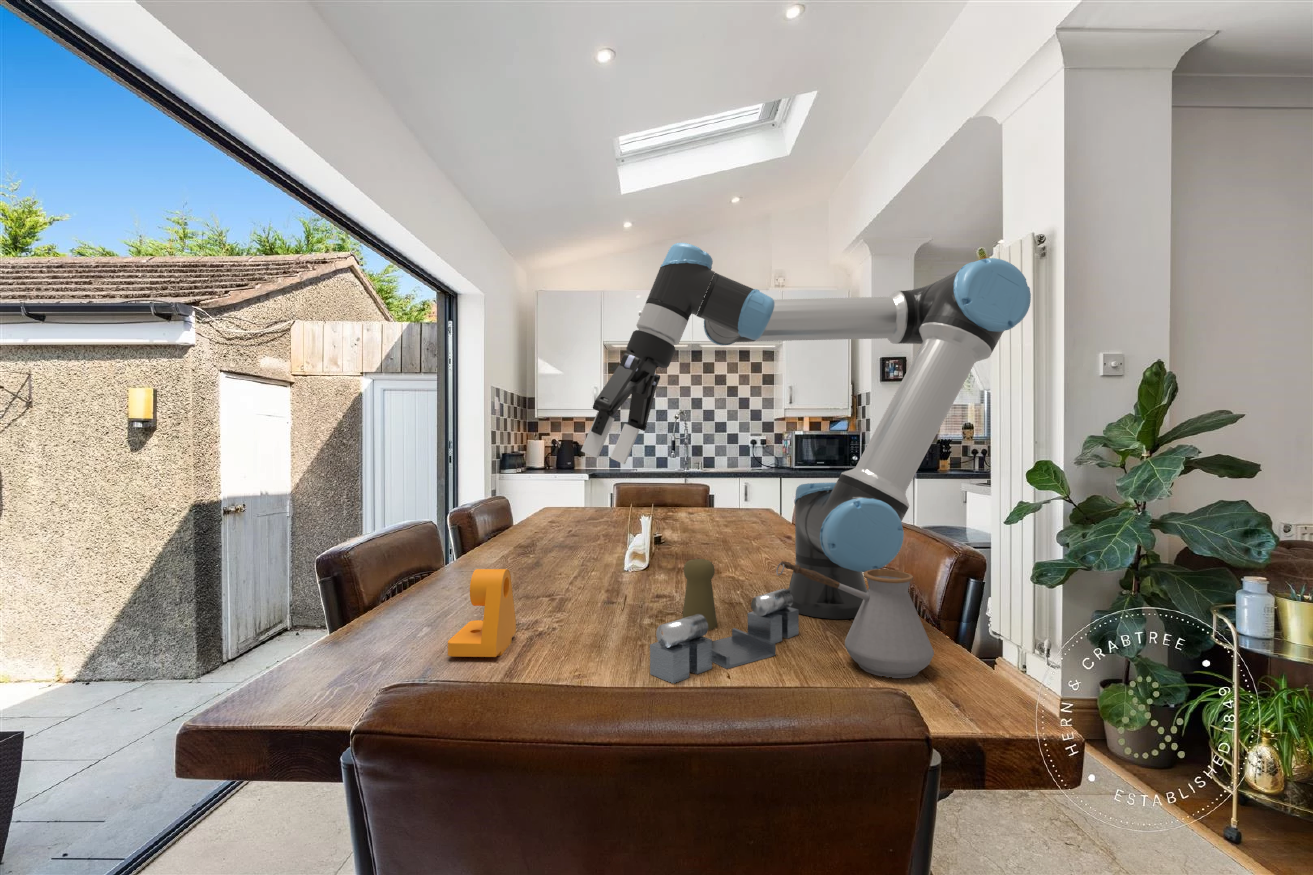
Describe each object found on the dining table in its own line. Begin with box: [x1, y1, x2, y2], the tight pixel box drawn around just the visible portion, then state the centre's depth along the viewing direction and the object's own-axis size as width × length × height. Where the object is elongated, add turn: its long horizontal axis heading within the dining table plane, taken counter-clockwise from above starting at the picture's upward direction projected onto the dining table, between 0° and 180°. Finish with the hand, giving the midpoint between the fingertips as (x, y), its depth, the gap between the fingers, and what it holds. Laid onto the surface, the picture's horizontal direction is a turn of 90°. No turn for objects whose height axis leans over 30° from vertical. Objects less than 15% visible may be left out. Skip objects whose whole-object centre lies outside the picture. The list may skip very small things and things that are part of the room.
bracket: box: [447, 568, 517, 658], centre depth 92 cm, size 11×7×12 cm, turn 178°
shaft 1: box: [649, 614, 713, 684], centre depth 82 cm, size 8×4×7 cm, turn 133°
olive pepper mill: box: [681, 558, 718, 631], centre depth 103 cm, size 6×6×11 cm
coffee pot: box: [775, 560, 935, 679], centre depth 83 cm, size 21×12×15 cm, turn 95°
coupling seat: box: [712, 627, 777, 670], centre depth 90 cm, size 9×9×2 cm
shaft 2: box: [747, 588, 800, 644], centre depth 97 cm, size 8×4×7 cm, turn 133°
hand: (604, 458), depth 99 cm, fingers open, 13 cm apart
